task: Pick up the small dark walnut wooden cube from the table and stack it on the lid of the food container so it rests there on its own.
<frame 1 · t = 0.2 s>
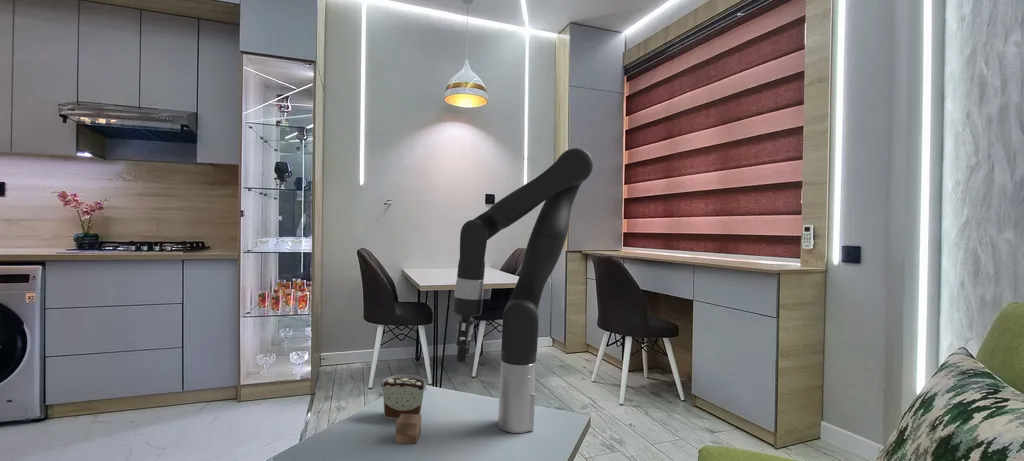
hand: (462, 357, 118), 18 cm above the table, tool pointing down, fingers open, 8 cm apart
food container: (405, 415, 122), on the table
walnut cube: (408, 439, 108), on the table
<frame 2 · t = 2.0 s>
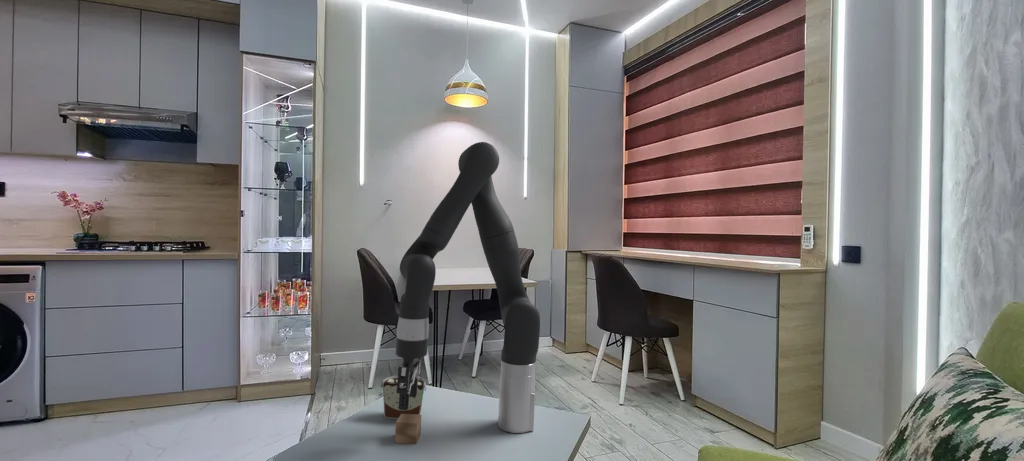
hand: (408, 402, 109), 9 cm above the table, tool pointing down, fingers open, 8 cm apart
nothing on the table moved.
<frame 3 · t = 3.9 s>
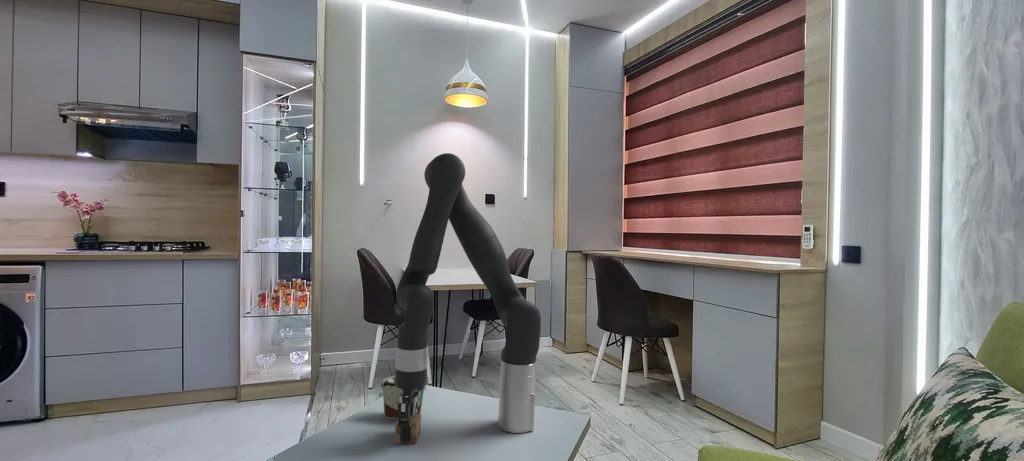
hand: (407, 435, 108), 1 cm above the table, tool pointing down, fingers closed on walnut cube, 5 cm apart
walnut cube: (407, 438, 108), on the table, touching gripper
everything else where it was.
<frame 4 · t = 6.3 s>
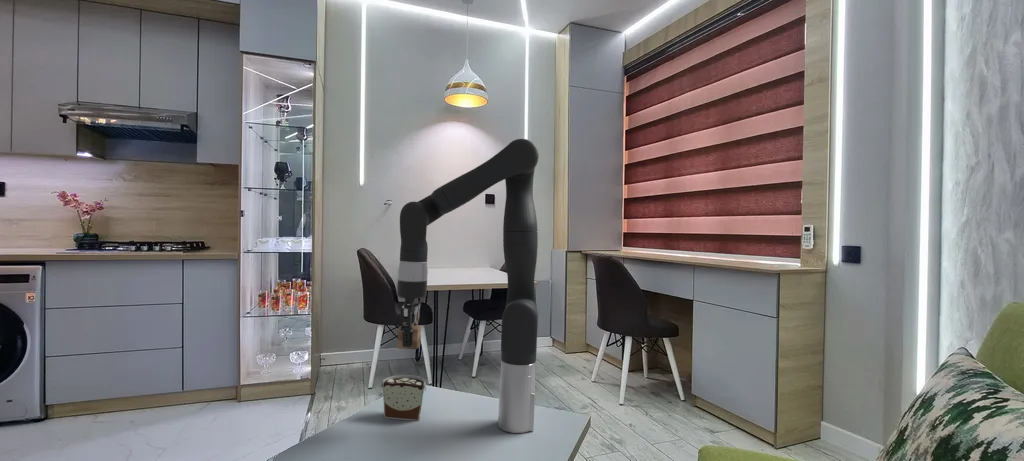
hand: (409, 343, 117), 21 cm above the table, tool pointing down, fingers closed on walnut cube, 5 cm apart
walnut cube: (408, 346, 117), point 20 cm above the table, touching gripper
everything else where it was.
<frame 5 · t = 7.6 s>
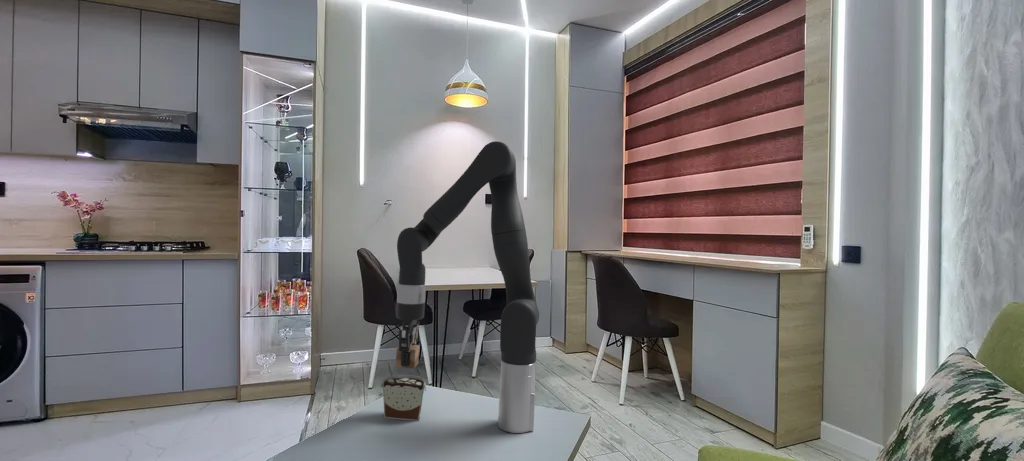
hand: (407, 362, 123), 14 cm above the table, tool pointing down, fingers closed on walnut cube, 5 cm apart
walnut cube: (407, 365, 123), point 13 cm above the table, touching gripper
everything else where it was.
when the fingers open (12 cm above the table, at t = 8.8 s): walnut cube drops 1 cm, resting on food container.
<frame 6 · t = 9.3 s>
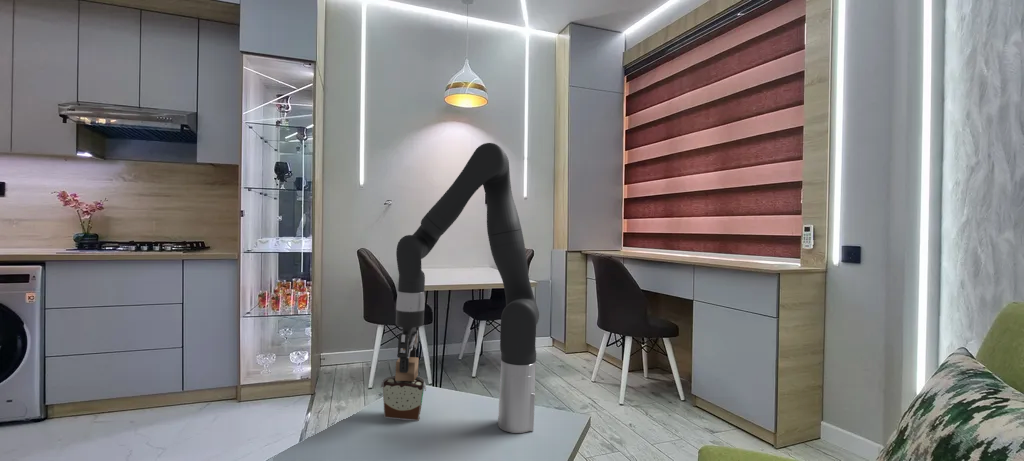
hand: (407, 367, 123), 13 cm above the table, tool pointing down, fingers open, 8 cm apart
food container: (405, 415, 122), on the table, touching walnut cube
walnut cube: (406, 377, 122), point 10 cm above the table, touching food container
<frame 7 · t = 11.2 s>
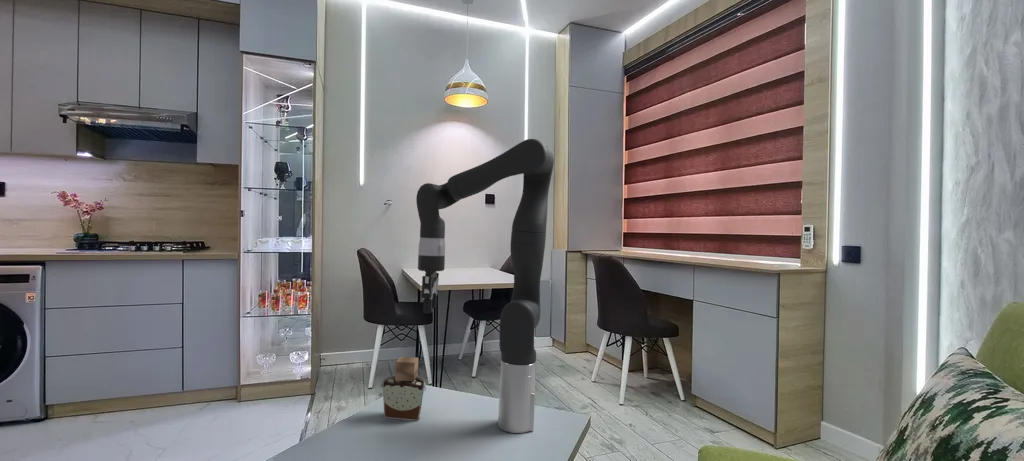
hand: (429, 310, 129), 28 cm above the table, tool pointing down, fingers open, 8 cm apart
nothing on the table moved.
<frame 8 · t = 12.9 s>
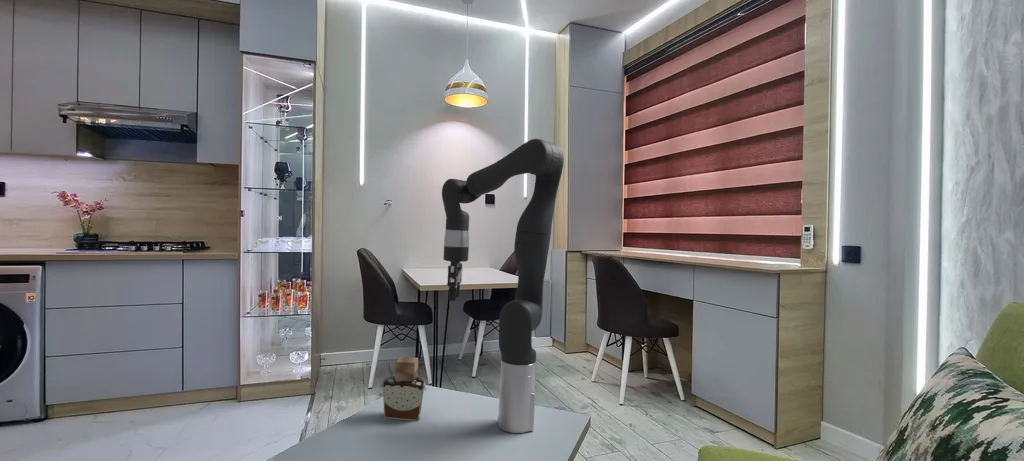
hand: (453, 298, 137), 30 cm above the table, tool pointing down, fingers open, 8 cm apart
nothing on the table moved.
at the end: walnut cube inside the target area on the food container (0.1 cm from its centre), point 10.2 cm above the food container's base; walnut cube tilted 0°; walnut cube touching food container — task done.
